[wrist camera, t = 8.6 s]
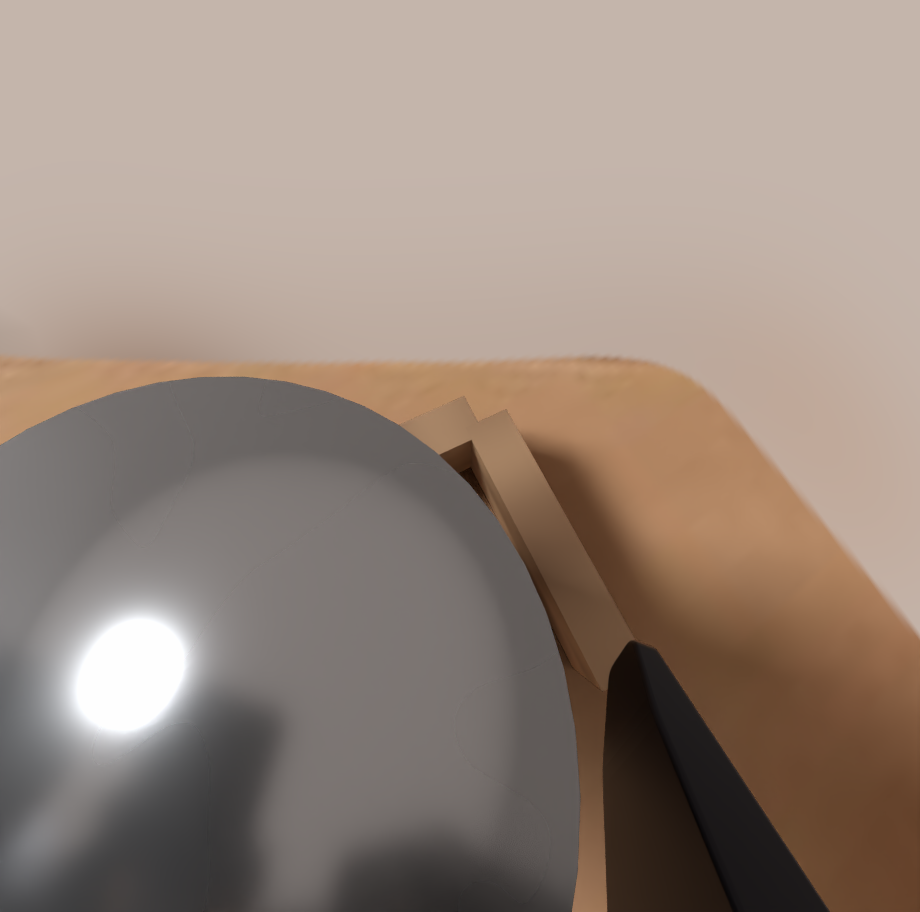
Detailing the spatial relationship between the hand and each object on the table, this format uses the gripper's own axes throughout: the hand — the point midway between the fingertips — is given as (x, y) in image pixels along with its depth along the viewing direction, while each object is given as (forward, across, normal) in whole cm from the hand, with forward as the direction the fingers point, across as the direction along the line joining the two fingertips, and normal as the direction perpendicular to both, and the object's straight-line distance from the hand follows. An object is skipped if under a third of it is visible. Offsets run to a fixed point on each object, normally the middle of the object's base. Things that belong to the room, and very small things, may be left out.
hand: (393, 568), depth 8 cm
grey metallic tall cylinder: (+5, 0, +7) cm, 9 cm away
